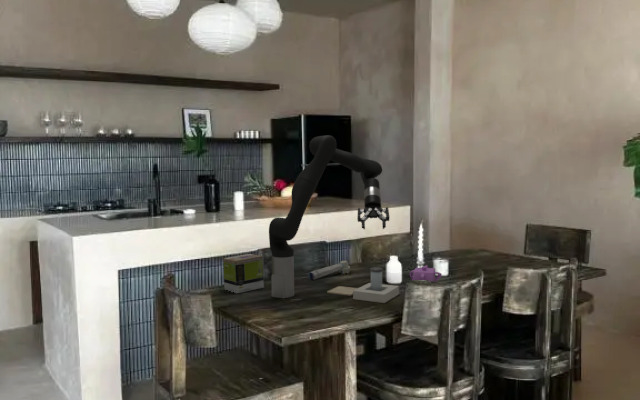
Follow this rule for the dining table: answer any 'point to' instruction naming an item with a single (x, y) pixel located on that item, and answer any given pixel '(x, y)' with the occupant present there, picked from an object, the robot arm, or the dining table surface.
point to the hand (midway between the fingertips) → (373, 228)
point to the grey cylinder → (330, 270)
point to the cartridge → (376, 278)
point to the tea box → (243, 273)
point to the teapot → (425, 274)
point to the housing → (376, 293)
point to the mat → (342, 290)
